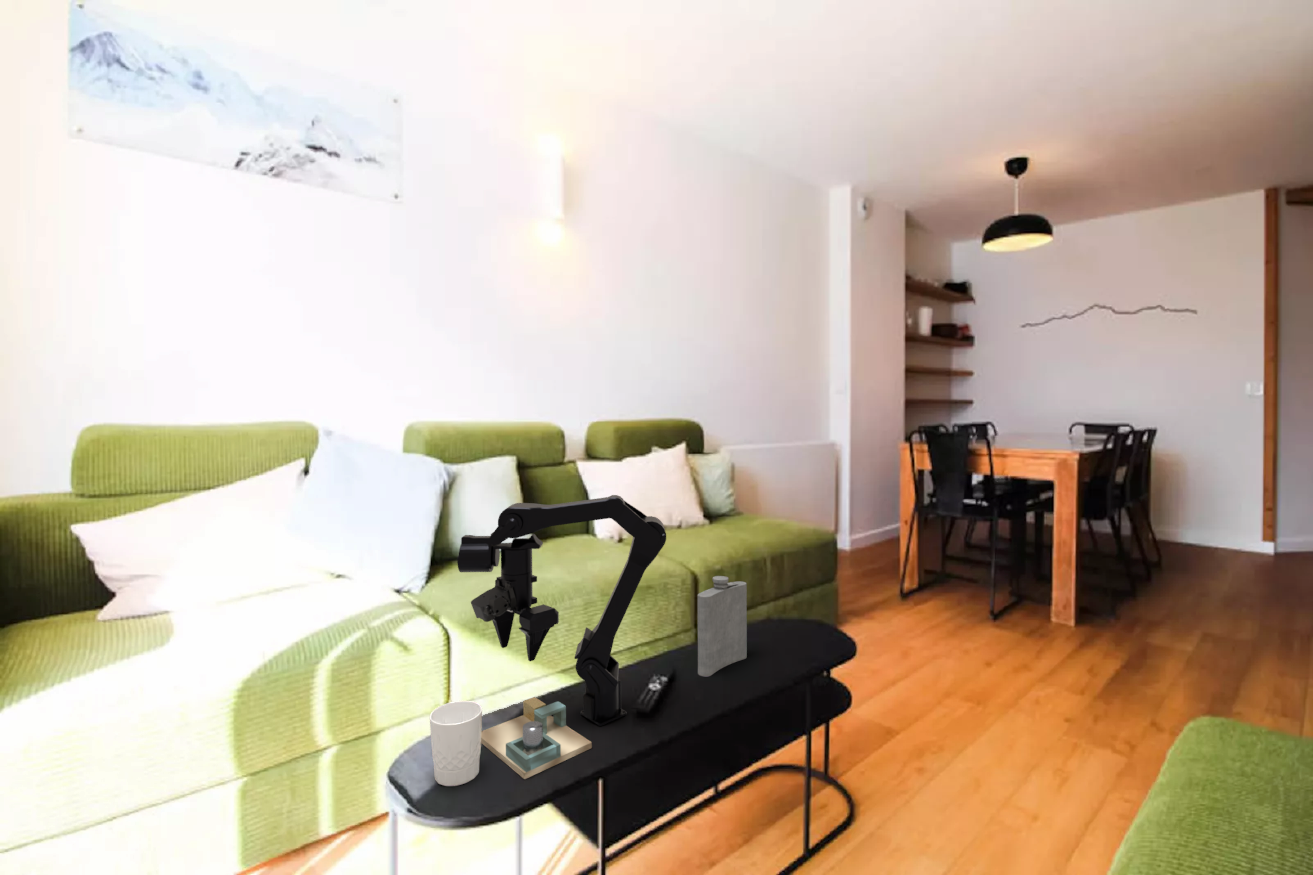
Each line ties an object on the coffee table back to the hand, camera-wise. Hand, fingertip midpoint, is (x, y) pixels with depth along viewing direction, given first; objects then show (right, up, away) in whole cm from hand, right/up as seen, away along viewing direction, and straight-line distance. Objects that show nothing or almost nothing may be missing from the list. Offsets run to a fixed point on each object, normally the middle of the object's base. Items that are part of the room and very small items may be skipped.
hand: (517, 653), depth 113 cm
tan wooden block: (+4, -11, -2) cm, 12 cm away
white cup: (-6, -13, -18) cm, 23 cm away
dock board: (+5, -12, -9) cm, 16 cm away
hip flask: (+41, -11, +24) cm, 49 cm away
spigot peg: (+6, -12, -15) cm, 20 cm away
